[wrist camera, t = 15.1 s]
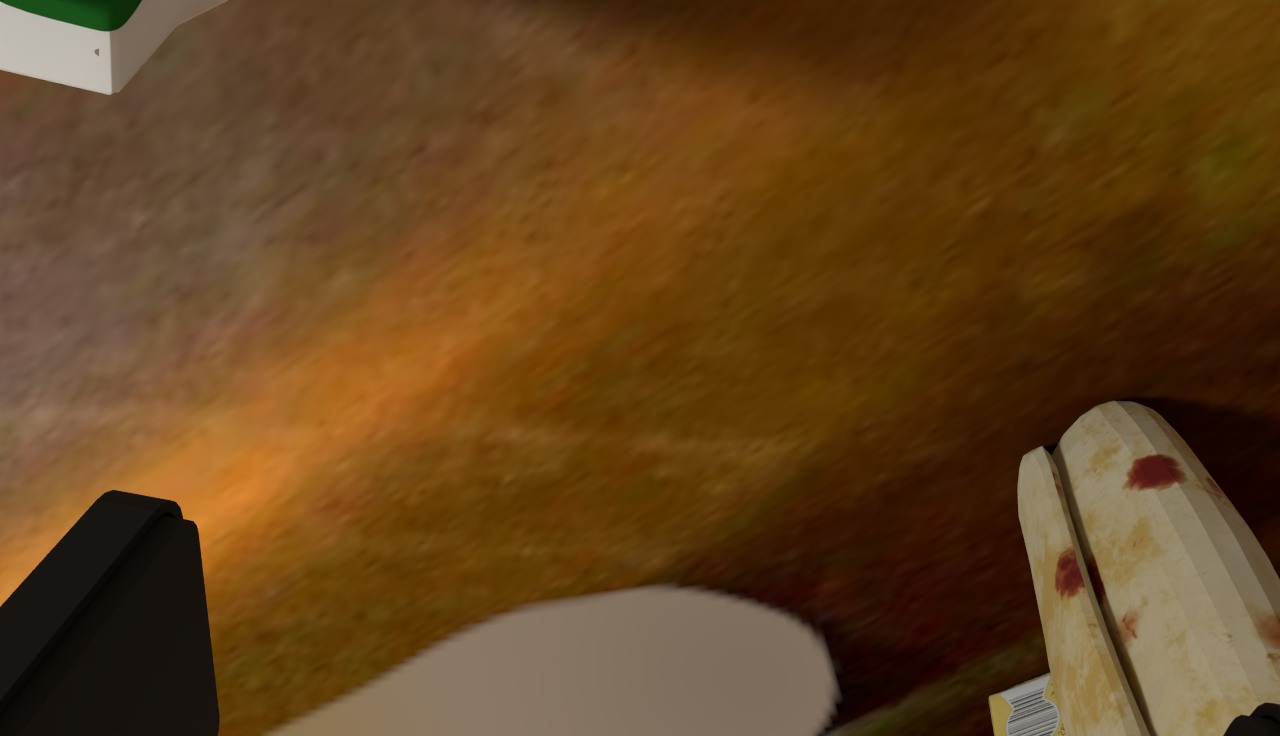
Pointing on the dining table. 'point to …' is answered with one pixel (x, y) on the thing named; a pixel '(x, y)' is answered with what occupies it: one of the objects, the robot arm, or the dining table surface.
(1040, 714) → the candy box
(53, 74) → the milk carton
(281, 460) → the dining table surface
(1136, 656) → the food model
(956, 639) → the dining table surface
